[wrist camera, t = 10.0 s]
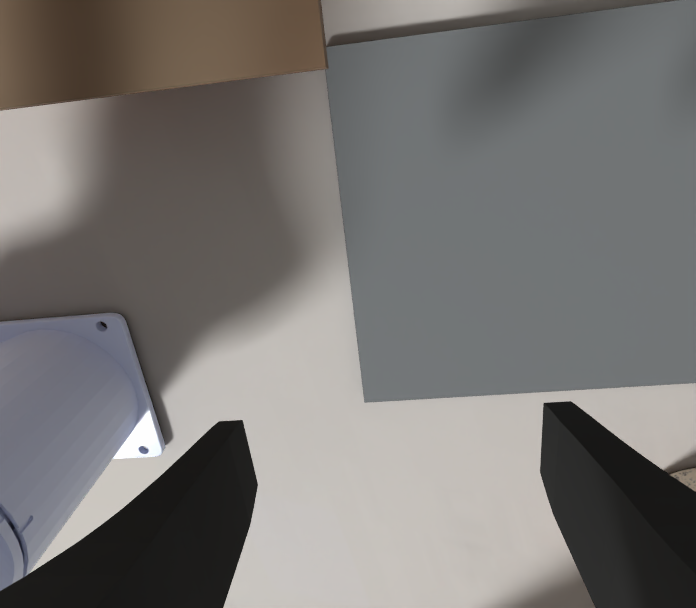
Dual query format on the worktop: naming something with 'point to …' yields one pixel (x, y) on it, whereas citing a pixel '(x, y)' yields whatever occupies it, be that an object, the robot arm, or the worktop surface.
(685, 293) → the rubber mat
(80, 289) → the worktop surface
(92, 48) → the walnut lid
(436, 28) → the worktop surface
